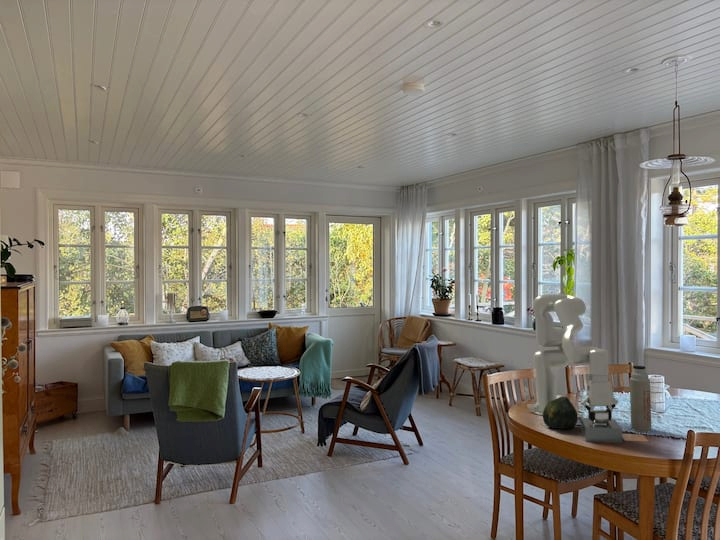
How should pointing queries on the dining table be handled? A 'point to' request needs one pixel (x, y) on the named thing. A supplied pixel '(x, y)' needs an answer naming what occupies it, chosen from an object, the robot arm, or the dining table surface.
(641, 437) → the coaster
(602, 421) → the end cover
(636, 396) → the thermos bottle
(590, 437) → the box
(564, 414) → the squash
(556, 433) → the dining table surface
